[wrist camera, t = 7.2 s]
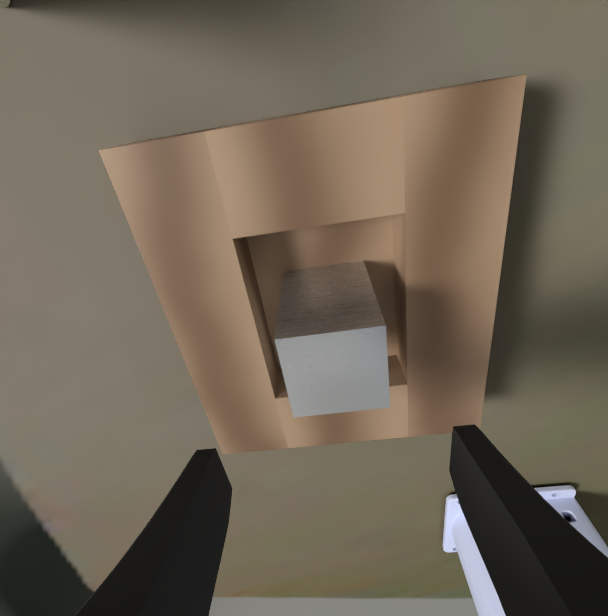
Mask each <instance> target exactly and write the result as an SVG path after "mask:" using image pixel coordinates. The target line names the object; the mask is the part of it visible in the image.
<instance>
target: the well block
mask: <svg viewBox="0 0 608 616" xmlns="http://www.w3.org/2000/svg"><path fill="white" fill-rule="evenodd" d="M526 76H527V74H526V75H519V76H511V77H504V78H496V79H488V80H482V81H477V82H471V83H466V84H460V85H454V86H449V87H443V88H437V89H432V90H426V91H421V92H415V93H409V94H404V95H398V96H392V97H387V98H381V99H376V100H370V101H364V102H359V103H353V104H347V105H342V106H336V107H331V108H325V109H319V110H314V111H308V112H302V113H297V114H291V115H286V116H280V117H274V118H269V119H263V120H257V121H252V122H246V123H241V124H235V125H229V126H224V127H218V128H212V129H207V130H201V131H196V132H190V133H184V134H179V135H173V136H167V137H162V138H156V139H151V140H145V141H139V142H134V143H129V144H125V145H120V146H116V147H111V148H107V149H102V150H99V152H100V155H101V157H102V160H103V162H104V165H105V167H106V169H107V172H108V174H109V177H110V179H111V182H112V184H113V187H114V189H115V192H116V194H117V196H118V199H119V201H120V204H121V206H122V209H123V211H124V214H125V216H126V218H127V221H128V223H129V226H130V228H131V231H132V233H133V236H134V238H135V241H136V243H137V245H138V248H139V250H140V253H141V255H142V258H143V260H144V263H145V265H146V267H147V270H148V272H149V275H150V277H151V280H152V282H153V285H154V287H155V289H156V292H157V294H158V297H159V299H160V302H161V304H162V307H163V309H164V312H165V314H166V316H167V319H168V321H169V324H170V326H171V329H172V331H173V334H174V336H175V338H176V341H177V343H178V346H179V348H180V351H181V353H182V356H183V358H184V361H185V363H186V365H187V368H188V370H189V373H190V375H191V378H192V380H193V383H194V385H195V387H196V390H197V392H198V395H199V397H200V400H201V402H202V405H203V407H204V410H205V412H206V414H207V417H208V419H209V422H210V424H211V427H212V429H213V432H214V434H215V436H216V439H217V441H218V444H219V446H220V449H221V451H222V454H231V453H241V452H252V451H263V450H273V449H284V448H294V447H305V446H316V445H326V444H337V443H347V442H358V441H369V440H379V439H390V438H400V437H411V436H422V435H432V434H443V433H452V432H453V426H463V425H474V424H475V425H476V426H477V427H478V428H479V429H480V426H481V418H482V410H483V403H484V395H485V388H486V380H487V372H488V365H489V357H490V350H491V342H492V334H493V327H494V319H495V312H496V304H497V296H498V289H499V281H500V273H501V266H502V258H503V251H504V243H505V235H506V228H507V220H508V213H509V205H510V197H511V190H512V182H513V175H514V167H515V159H516V152H517V144H518V137H519V129H520V121H521V114H522V106H523V99H524V91H525V83H526ZM361 260H363V261H364V264H365V267H366V270H367V272H368V275H369V278H370V281H371V284H372V287H373V290H374V293H375V296H376V298H377V301H378V304H379V307H380V310H381V313H382V316H383V319H384V322H385V324H386V336H387V355H388V374H389V392H390V407H389V408H380V409H370V410H361V411H351V412H342V413H332V414H323V415H313V416H304V417H294V418H293V413H292V409H291V405H290V401H289V397H288V393H287V389H286V385H285V381H284V377H283V373H282V369H281V365H280V361H279V356H278V352H277V348H276V344H275V340H274V339H275V332H276V325H277V318H278V312H279V305H280V298H281V291H282V284H283V277H284V271H291V270H298V269H305V268H312V267H319V266H326V265H333V264H340V263H347V262H354V261H361Z"/></svg>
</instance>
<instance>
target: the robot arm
mask: <svg viewBox="0 0 608 616" xmlns="http://www.w3.org/2000/svg"><path fill="white" fill-rule="evenodd" d="M449 471H450V475H451V478H452V481H453V485H454V488H455V491H456V494H452V495H449V496H448V497H447V498H446V507H445V521H444V534H443V549H444V551H445V552H458V555H459V558H460V561H461V564H462V567H463V570H464V573H465V576H466V579H467V582H468V585H469V588H470V591H471V594H472V597H473V600H474V603H475V606H476V609H477V612H478V615H479V616H608V547H607V545H606V544H605V542H604V541H603V539H602V538H601V536H600V535H599V533H598V532H597V530H596V529H595V528H594V526H593V525H592V523H591V522H590V520H589V519H588V517H587V516H586V514H585V513H584V511H583V510H582V508H581V507H580V505H579V504H578V502H577V501H576V499H575V498H574V497H575V494H576V490H575V489H574V487H573V486H571V485H564V486H551V487H539V488H533V487H532V486H531V485H530V484H529V483H528V482H527V481H526V480H525V479H524V478H523V477H522V476H521V474H520V473H519V472H518V471H517V470H516V469H515V468H514V467H513V466H512V465H511V464H510V463H509V462H508V461H507V459H506V458H505V457H504V456H503V455H502V454H501V453H500V452H499V451H498V450H497V448H496V447H495V446H494V445H493V444H492V443H491V442H490V440H489V439H488V438H487V437H486V436H485V435H484V434H483V432H482V431H481V430H480V429H479V428H478V427H477V426H476V425H475V424H474V425H463V426H453V432H452V444H451V457H450V469H449ZM231 496H232V487H231V484H230V482H229V480H228V477H227V475H226V472H225V470H224V467H223V465H222V462H221V460H220V458H219V455H218V453H217V450H216V448H215V449H204V450H197V451H196V452H195V453H194V455H193V456H192V458H191V459H190V461H189V462H188V464H187V465H186V467H185V469H184V470H183V472H182V473H181V475H180V476H179V478H178V479H177V481H176V482H175V484H174V485H173V487H172V489H171V490H170V492H169V493H168V495H167V496H166V498H165V499H164V501H163V502H162V503H161V505H160V506H159V508H158V509H157V511H156V512H155V514H154V515H153V517H152V518H151V519H150V521H149V522H148V524H147V525H146V527H145V528H144V529H143V531H142V532H141V533H140V535H139V536H138V537H137V539H136V540H135V541H134V543H133V544H132V546H131V547H130V548H129V550H128V551H127V552H126V554H125V555H124V556H123V558H122V559H121V560H120V562H119V563H118V564H117V565H116V567H115V568H114V569H113V570H112V572H111V573H110V574H109V575H108V577H107V578H106V579H105V580H104V582H103V583H102V584H101V585H100V586H99V588H98V589H97V590H96V591H95V592H94V594H93V595H92V596H91V597H90V598H89V600H88V601H87V602H86V603H85V604H84V605H83V606H82V608H81V609H80V610H79V611H78V612H77V613H76V614H75V615H74V616H209V610H210V606H211V601H212V597H213V592H214V588H215V583H216V579H217V574H218V570H219V565H220V561H221V556H222V552H223V547H224V542H225V538H226V533H227V528H228V523H229V515H230V506H231Z"/></svg>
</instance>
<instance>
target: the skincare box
mask: <svg viewBox="0 0 608 616" xmlns="http://www.w3.org/2000/svg"><path fill="white" fill-rule="evenodd" d="M9 4H10V0H0V7H8V6H9Z"/></svg>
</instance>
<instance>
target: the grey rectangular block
mask: <svg viewBox="0 0 608 616" xmlns="http://www.w3.org/2000/svg"><path fill="white" fill-rule="evenodd" d="M274 340H275V344H276V348H277V352H278V356H279V361H280V365H281V369H282V373H283V377H284V381H285V385H286V389H287V393H288V397H289V401H290V405H291V409H292V413H293V418H294V417H304V416H313V415H323V414H332V413H342V412H351V411H361V410H370V409H380V408H389V407H390V392H389V374H388V355H387V336H386V324H385V322H384V319H383V316H382V313H381V310H380V307H379V304H378V301H377V298H376V296H375V293H374V290H373V287H372V284H371V281H370V278H369V275H368V272H367V270H366V267H365V264H364V261H363V260H361V261H354V262H347V263H340V264H333V265H326V266H319V267H312V268H305V269H298V270H291V271H284V277H283V284H282V291H281V298H280V305H279V312H278V318H277V325H276V332H275V339H274Z"/></svg>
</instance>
